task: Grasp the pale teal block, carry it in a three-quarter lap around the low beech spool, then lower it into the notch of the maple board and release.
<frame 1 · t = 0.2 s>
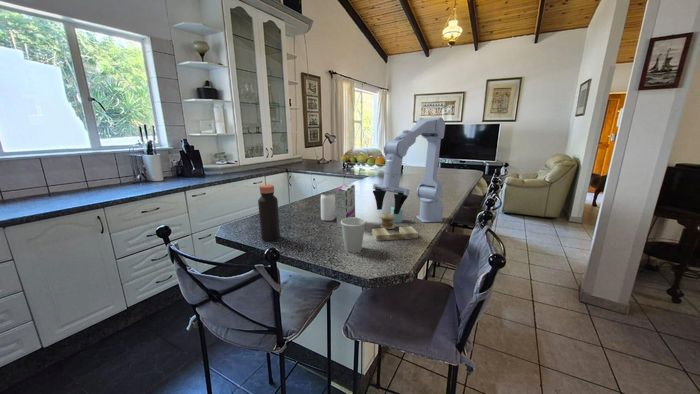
hand: (387, 211, 99), 11 cm above the countertop, tool pointing down, fingers open, 7 cm apart
bottle: (270, 238, 103), on the countertop
spool: (387, 227, 114), on the countertop
pale teal block: (396, 221, 122), on the countertop
candy bar box: (346, 224, 118), on the countertop
can: (328, 219, 124), on the countertop
dixie cup: (353, 249, 94), on the countertop
notch board: (394, 235, 105), on the countertop
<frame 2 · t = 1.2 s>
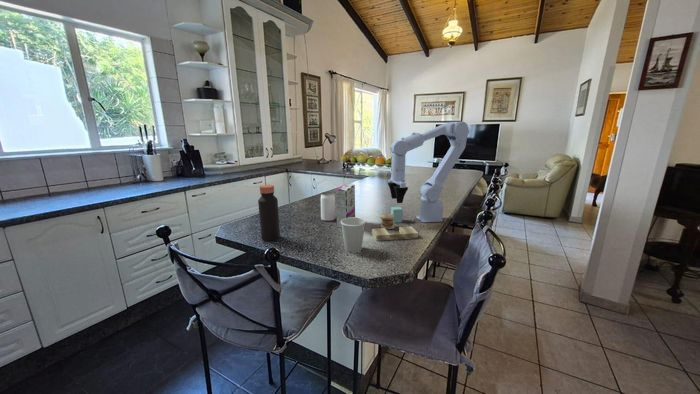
hand: (396, 200, 119), 9 cm above the countertop, tool pointing down, fingers open, 7 cm apart
nothing on the countertop moved.
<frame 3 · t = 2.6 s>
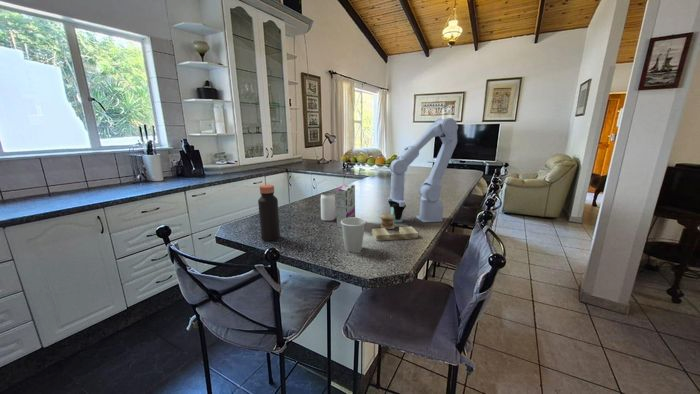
hand: (396, 217, 121), 1 cm above the countertop, tool pointing down, fingers closed on pale teal block, 4 cm apart
pale teal block: (396, 220, 122), on the countertop, touching gripper
everything else where it was.
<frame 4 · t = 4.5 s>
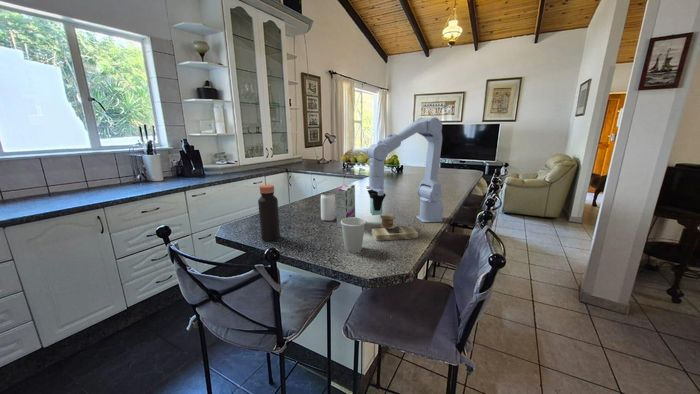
hand: (376, 208, 111), 8 cm above the countertop, tool pointing down, fingers closed on pale teal block, 4 cm apart
pale teal block: (376, 213, 111), point 6 cm above the countertop, touching gripper
everything else where it was.
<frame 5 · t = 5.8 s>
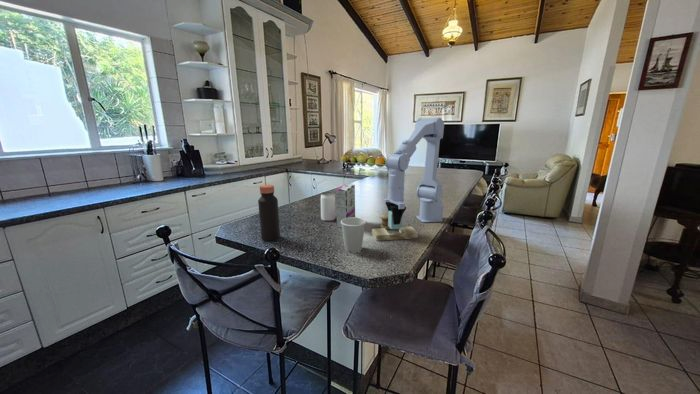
hand: (394, 222, 104), 5 cm above the countertop, tool pointing down, fingers closed on pale teal block, 4 cm apart
pale teal block: (394, 227, 104), point 3 cm above the countertop, touching gripper
everything else where it was.
when the fingers open (3 cm above the countertop, at t = 6.6 s): pale teal block stays where it is, on the countertop.
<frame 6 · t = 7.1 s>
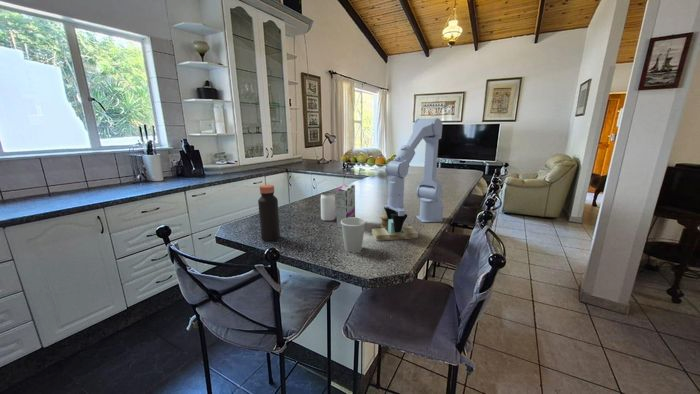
hand: (394, 228, 104), 3 cm above the countertop, tool pointing down, fingers open, 7 cm apart
pale teal block: (394, 235, 105), on the countertop
everything else where it was.
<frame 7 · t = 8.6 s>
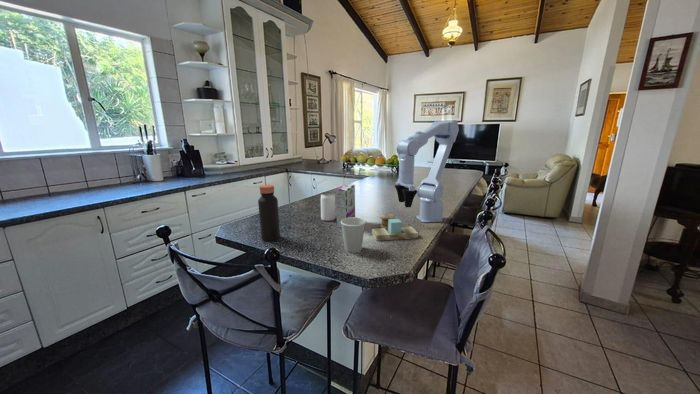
hand: (404, 204, 111), 10 cm above the countertop, tool pointing down, fingers open, 7 cm apart
nothing on the countertop moved.
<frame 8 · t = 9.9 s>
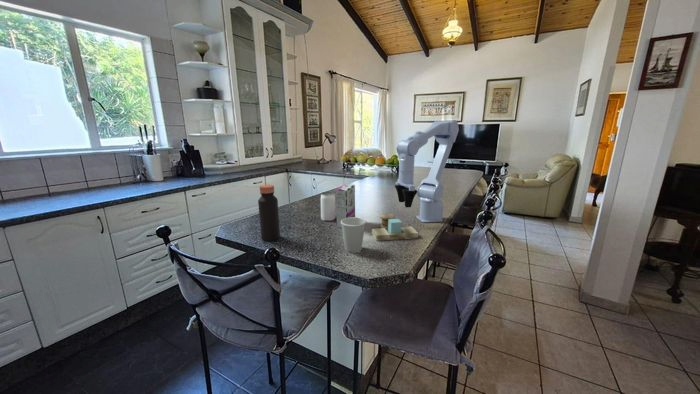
hand: (404, 204, 111), 10 cm above the countertop, tool pointing down, fingers open, 7 cm apart
nothing on the countertop moved.
at the end: pale teal block 0.1 cm from the target spot, on the countertop; pale teal block tilted 0°; the gripper is holding nothing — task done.
